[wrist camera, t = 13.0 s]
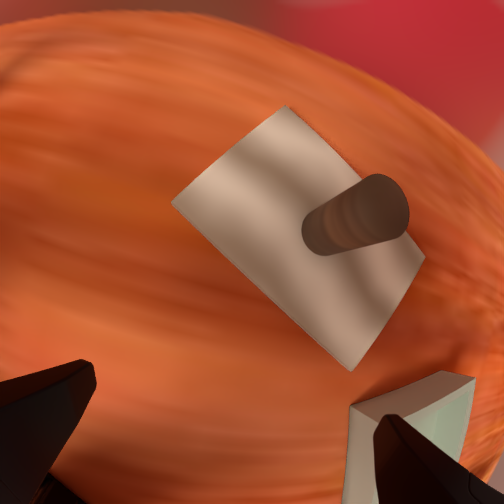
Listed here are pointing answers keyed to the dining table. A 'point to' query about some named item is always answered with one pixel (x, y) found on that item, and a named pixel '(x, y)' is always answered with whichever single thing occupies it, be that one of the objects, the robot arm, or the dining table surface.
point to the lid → (308, 232)
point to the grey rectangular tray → (417, 415)
